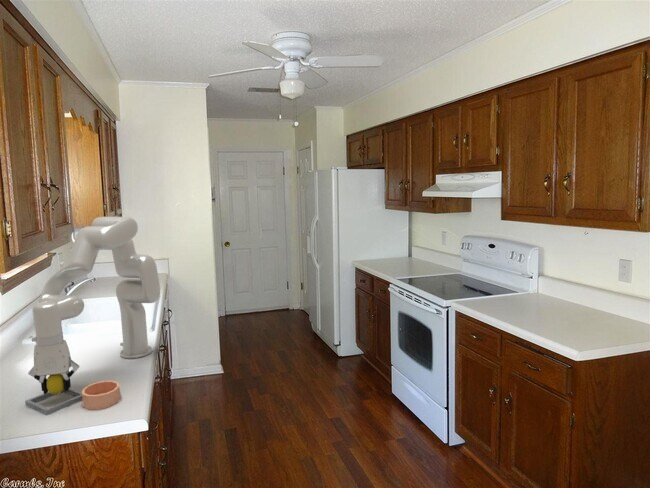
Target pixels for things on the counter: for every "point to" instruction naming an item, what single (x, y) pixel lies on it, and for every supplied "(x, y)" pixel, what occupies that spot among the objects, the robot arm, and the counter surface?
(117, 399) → the bowl
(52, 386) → the lemon
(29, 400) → the gray square frame
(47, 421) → the counter surface
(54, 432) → the counter surface
